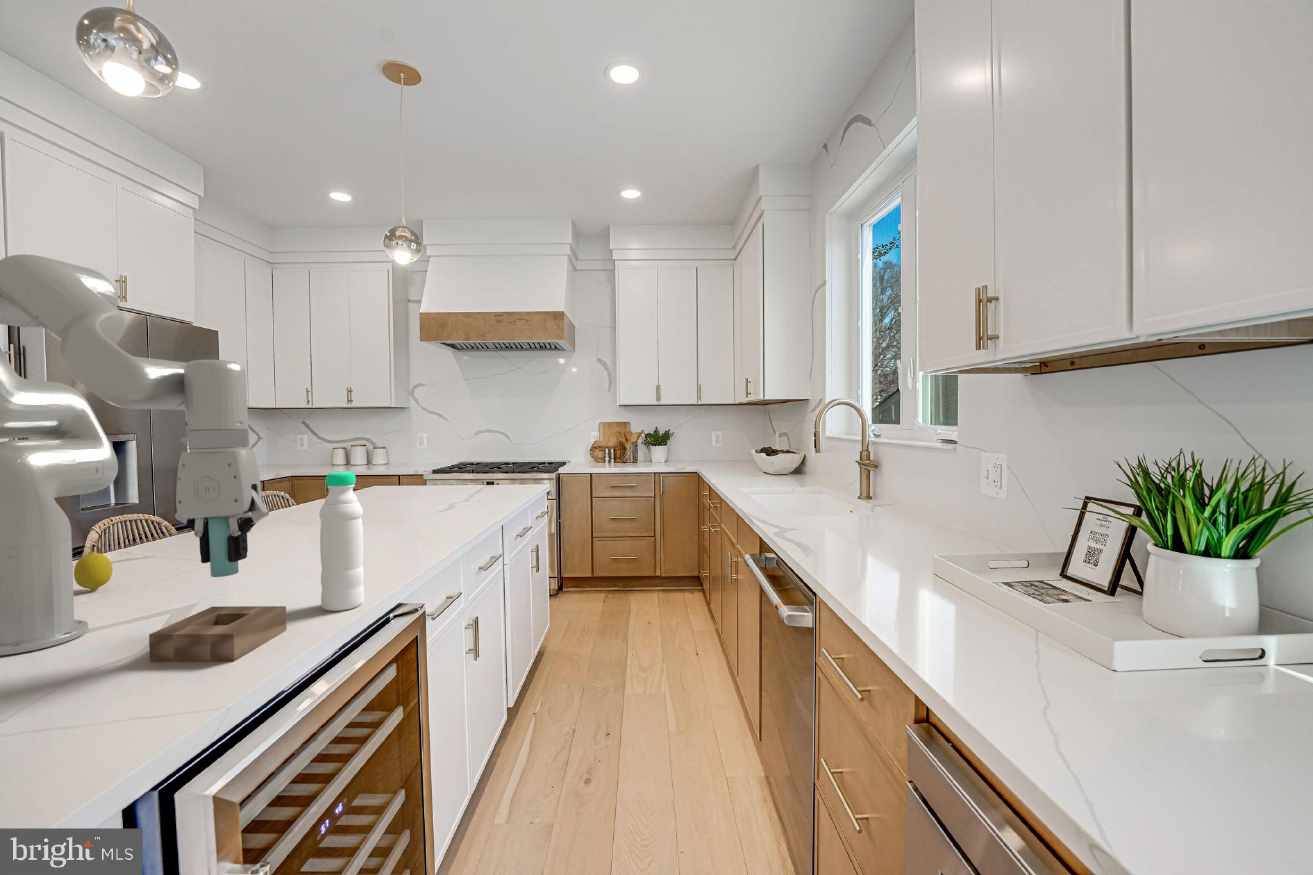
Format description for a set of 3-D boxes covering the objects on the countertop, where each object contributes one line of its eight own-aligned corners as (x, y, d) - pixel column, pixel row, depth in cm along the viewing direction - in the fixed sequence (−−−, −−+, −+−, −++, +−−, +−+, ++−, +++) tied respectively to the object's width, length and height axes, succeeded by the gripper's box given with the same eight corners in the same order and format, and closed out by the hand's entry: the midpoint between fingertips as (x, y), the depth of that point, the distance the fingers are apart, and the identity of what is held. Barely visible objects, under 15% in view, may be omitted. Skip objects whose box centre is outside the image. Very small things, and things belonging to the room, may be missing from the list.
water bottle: (345, 613, 102) (343, 475, 101) (311, 610, 103) (309, 474, 102) (372, 601, 109) (370, 471, 108) (340, 598, 110) (338, 470, 109)
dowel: (205, 577, 86) (201, 504, 85) (221, 571, 89) (218, 501, 89) (228, 576, 86) (224, 504, 85) (243, 570, 89) (240, 501, 89)
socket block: (149, 661, 82) (149, 634, 82) (212, 630, 94) (212, 606, 94) (234, 661, 82) (233, 633, 82) (286, 629, 94) (286, 606, 94)
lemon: (117, 589, 116) (115, 550, 115) (79, 596, 111) (77, 556, 111) (108, 585, 119) (106, 547, 118) (70, 592, 114) (69, 552, 114)
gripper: (142, 444, 83) (148, 568, 83) (256, 441, 83) (262, 565, 84) (183, 441, 90) (189, 556, 91) (288, 439, 91) (293, 553, 91)
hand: (224, 559), depth 87 cm, fingers closed on dowel, 3 cm apart
